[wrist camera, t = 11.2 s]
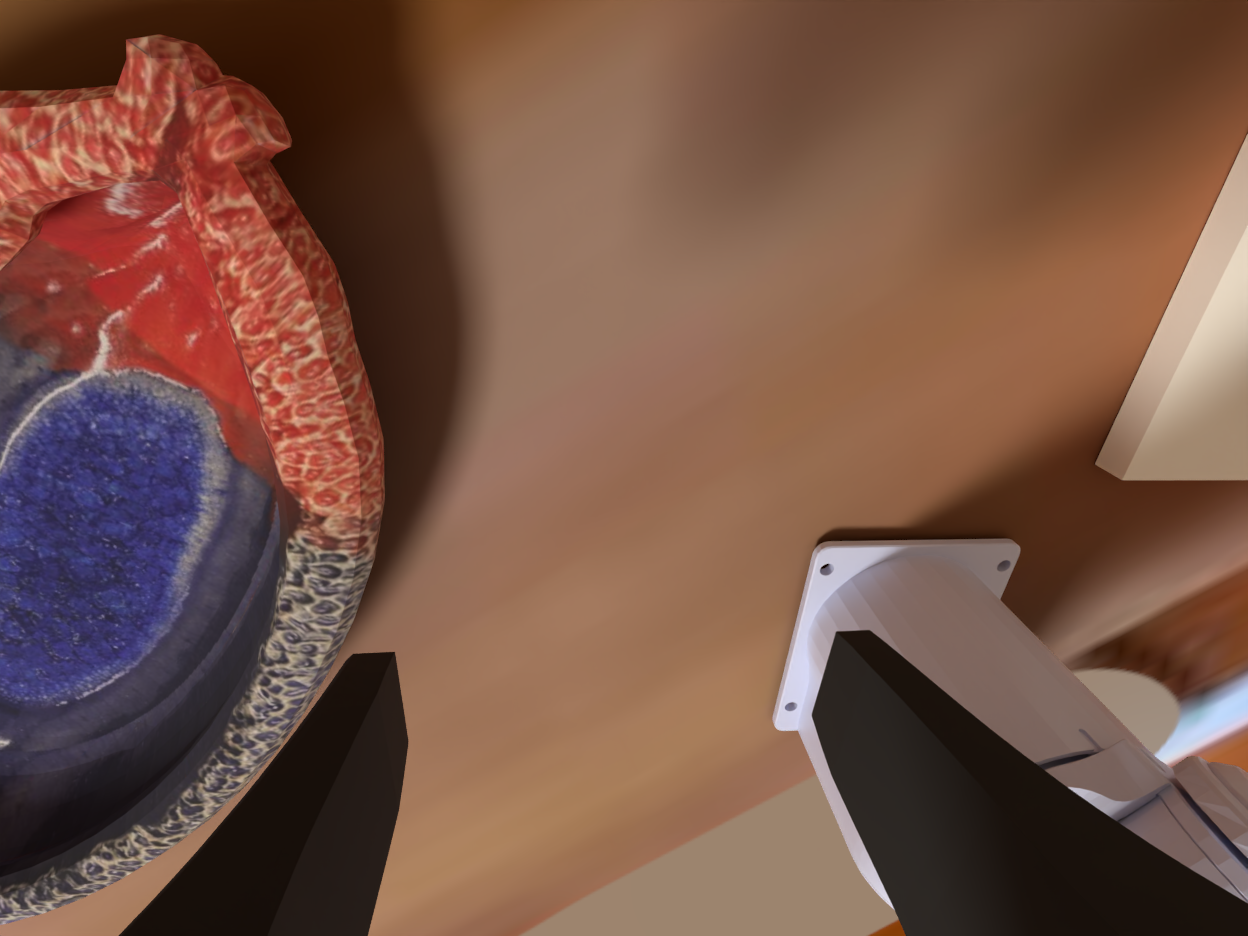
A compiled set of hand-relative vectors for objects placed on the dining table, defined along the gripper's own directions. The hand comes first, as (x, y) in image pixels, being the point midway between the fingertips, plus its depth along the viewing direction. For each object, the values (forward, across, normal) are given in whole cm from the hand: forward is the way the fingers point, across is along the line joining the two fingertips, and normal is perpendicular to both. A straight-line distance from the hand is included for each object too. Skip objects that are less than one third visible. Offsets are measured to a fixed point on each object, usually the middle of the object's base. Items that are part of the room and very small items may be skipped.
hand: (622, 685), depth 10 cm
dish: (+11, +15, +4) cm, 19 cm away
